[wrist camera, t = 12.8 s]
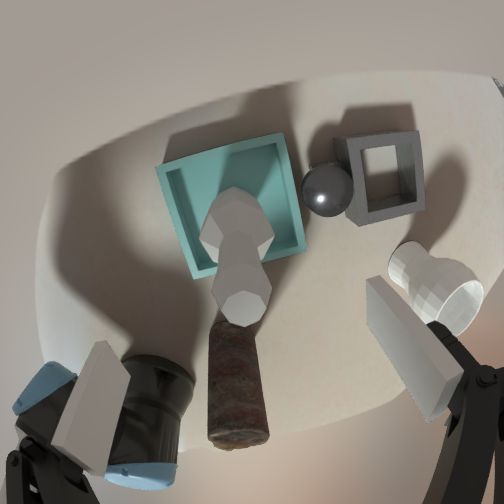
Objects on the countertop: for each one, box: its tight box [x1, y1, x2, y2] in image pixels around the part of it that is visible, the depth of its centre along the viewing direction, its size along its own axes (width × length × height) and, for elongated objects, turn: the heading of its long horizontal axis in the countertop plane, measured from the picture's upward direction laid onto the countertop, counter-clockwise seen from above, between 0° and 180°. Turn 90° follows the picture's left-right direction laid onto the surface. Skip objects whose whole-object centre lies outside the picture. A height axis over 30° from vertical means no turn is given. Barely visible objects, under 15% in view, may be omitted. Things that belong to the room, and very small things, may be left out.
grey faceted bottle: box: [199, 186, 275, 327], centre depth 25 cm, size 6×6×22 cm
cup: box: [388, 241, 484, 337], centre depth 34 cm, size 11×11×15 cm
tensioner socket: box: [301, 130, 425, 227], centre depth 33 cm, size 18×11×6 cm, turn 104°
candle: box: [208, 322, 270, 451], centre depth 35 cm, size 8×7×20 cm
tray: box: [155, 132, 307, 279], centre depth 34 cm, size 15×15×4 cm
